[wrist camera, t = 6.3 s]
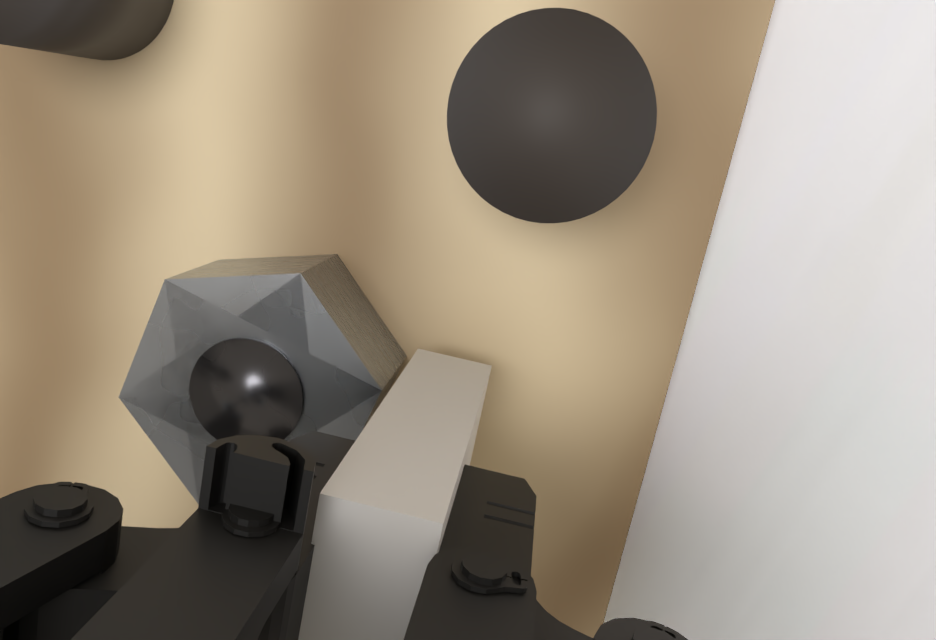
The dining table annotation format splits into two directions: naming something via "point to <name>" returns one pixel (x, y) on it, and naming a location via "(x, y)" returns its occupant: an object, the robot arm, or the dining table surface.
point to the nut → (258, 357)
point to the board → (374, 217)
